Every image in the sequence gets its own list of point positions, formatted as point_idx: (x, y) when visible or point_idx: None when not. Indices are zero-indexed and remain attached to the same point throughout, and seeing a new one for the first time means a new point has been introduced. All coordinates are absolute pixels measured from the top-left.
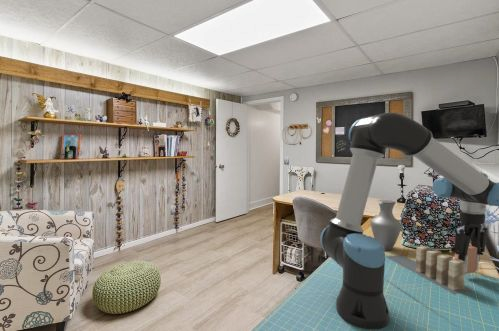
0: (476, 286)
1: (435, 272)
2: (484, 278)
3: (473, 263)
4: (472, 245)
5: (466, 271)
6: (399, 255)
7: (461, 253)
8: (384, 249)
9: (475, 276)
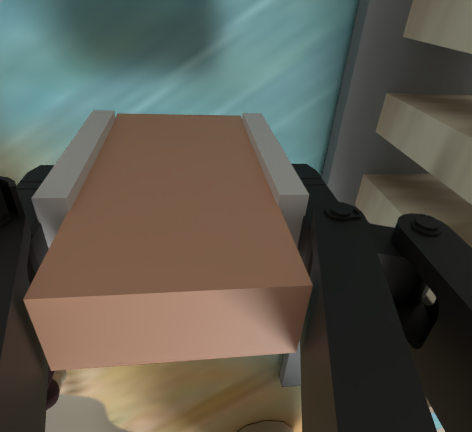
0: (221, 12)
1: (422, 190)
2: (6, 97)
3: (146, 150)
4: (41, 376)
5: (250, 116)
6: (297, 382)
7: (431, 222)
8: (286, 426)
9: (56, 139)
